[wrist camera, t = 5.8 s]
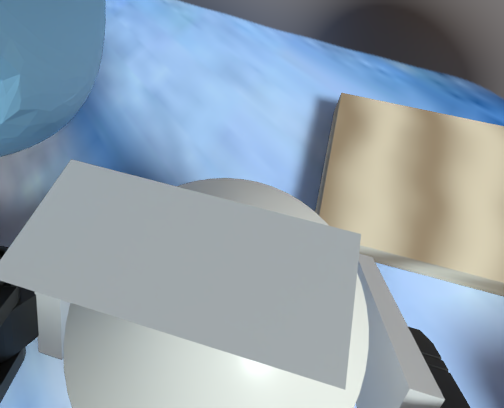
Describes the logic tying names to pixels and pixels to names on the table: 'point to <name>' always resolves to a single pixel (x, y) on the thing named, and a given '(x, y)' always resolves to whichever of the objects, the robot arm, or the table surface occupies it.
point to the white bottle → (195, 293)
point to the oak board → (418, 190)
